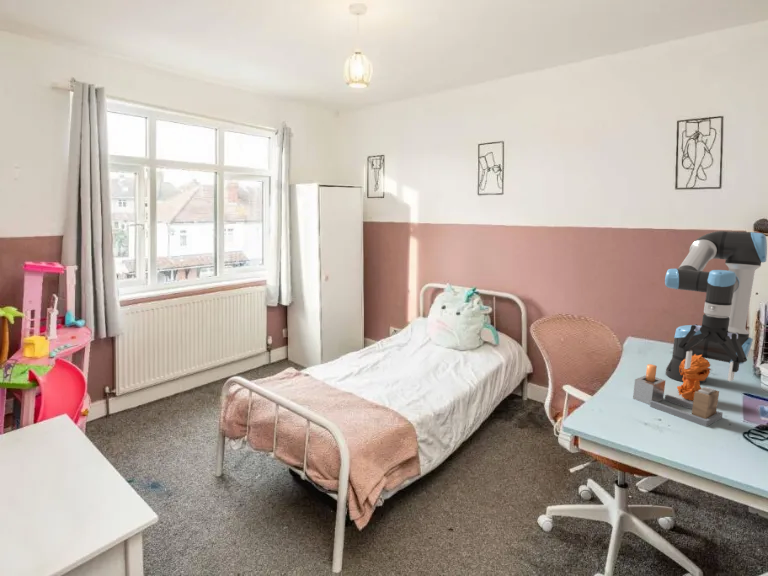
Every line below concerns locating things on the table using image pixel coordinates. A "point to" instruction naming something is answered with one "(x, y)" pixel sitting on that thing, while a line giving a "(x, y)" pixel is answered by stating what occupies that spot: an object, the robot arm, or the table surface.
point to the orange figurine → (693, 376)
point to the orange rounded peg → (651, 373)
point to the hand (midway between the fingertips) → (708, 374)
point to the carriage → (705, 402)
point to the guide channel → (684, 414)
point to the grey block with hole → (648, 390)
